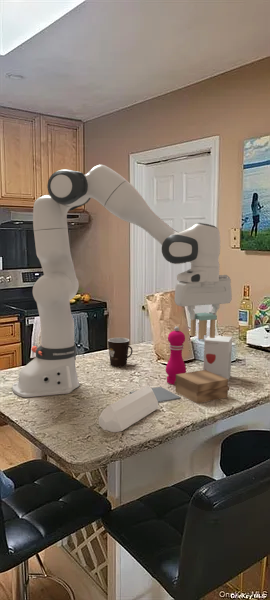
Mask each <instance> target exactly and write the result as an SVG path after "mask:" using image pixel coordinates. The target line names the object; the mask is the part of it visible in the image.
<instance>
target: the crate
mask: <svg viewBox="0 0 270 600" xmlns="http://www.w3.org/2000/svg"><path fill="white" fill-rule="evenodd" d="M174 386H175V393H176V394H178V395H180V396H182V397H184V398H186V399H188V400H189V401H192V402H193V403H196V404H200V403H206V402H211V401H215V400H220V399H221V400H222V399H225V398H226V399H227V398H228V396H229V395H228V393H229V392H228V391H230V386H229V380H228V379H226V378H224V377H222V376H219V375H217V374H214V373H212V372H210V371H207V370H202V369H201V370H196V371H188V372H186V373H182V374H176V381H175V385H174Z"/></svg>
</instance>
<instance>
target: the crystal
mask: <svg viewBox="0 0 270 600" xmlns="http://www.w3.org/2000/svg"><path fill="white" fill-rule="evenodd" d="M152 388H153V387H151V386H150V385H145V386H142V388H140V389H137V390H134V391H135V392H133V393H132V394H130V393H129V394H128V395H126V396H124V397H123V398H120V399H119V400H117V401H115V402H113V403H111V404H109V405H108V406H107V407H105V408H103V410H102V411H101V413H100V415H99V416H98V426H100V428H101V429H102V430H104V431H107V432H111V433H118V432H122V431H124V430H126V429H128V428H129V427H130V426H132V425H134V424H136V423H137V422H139V421H140V420H142V419H144V418H145V417H147V416H148V415H150V414H151V413H152V412H154V411H156V410H158V409H159V403H158V401H157V399H156V397H155V394H154V392H153V390H152Z"/></svg>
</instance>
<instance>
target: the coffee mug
mask: <svg viewBox="0 0 270 600" xmlns="http://www.w3.org/2000/svg"><path fill="white" fill-rule="evenodd" d="M107 345H108V346H107V348H108V355H109V363H110V366H112V367H116V368H117V367H118V368H121V367H126V366H127V365H128V364H127V362H128V359H129V358H130V357H131V356H132V355H133V352H134V351H133V348H132V346H131V345H130V339H129V338H127V337H111V338H108V339H107ZM129 349H130V354H129Z"/></svg>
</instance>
